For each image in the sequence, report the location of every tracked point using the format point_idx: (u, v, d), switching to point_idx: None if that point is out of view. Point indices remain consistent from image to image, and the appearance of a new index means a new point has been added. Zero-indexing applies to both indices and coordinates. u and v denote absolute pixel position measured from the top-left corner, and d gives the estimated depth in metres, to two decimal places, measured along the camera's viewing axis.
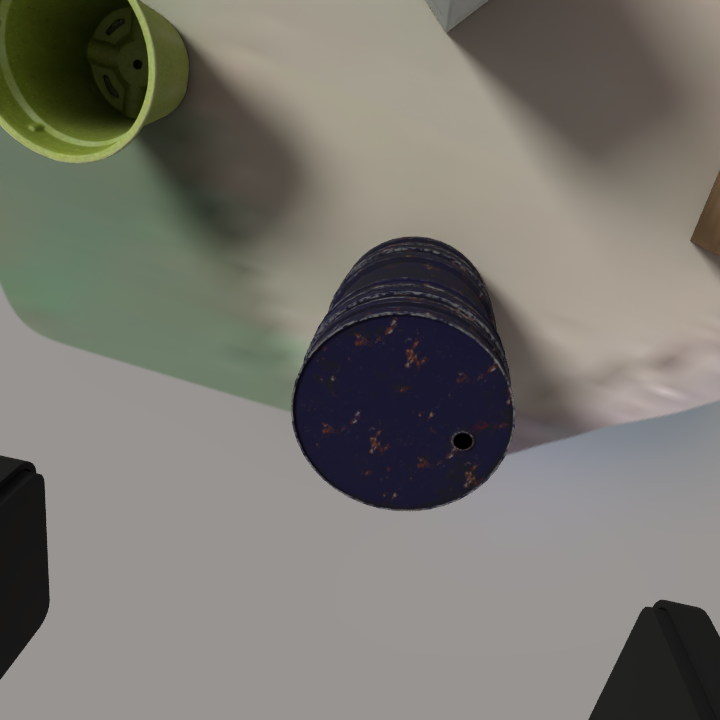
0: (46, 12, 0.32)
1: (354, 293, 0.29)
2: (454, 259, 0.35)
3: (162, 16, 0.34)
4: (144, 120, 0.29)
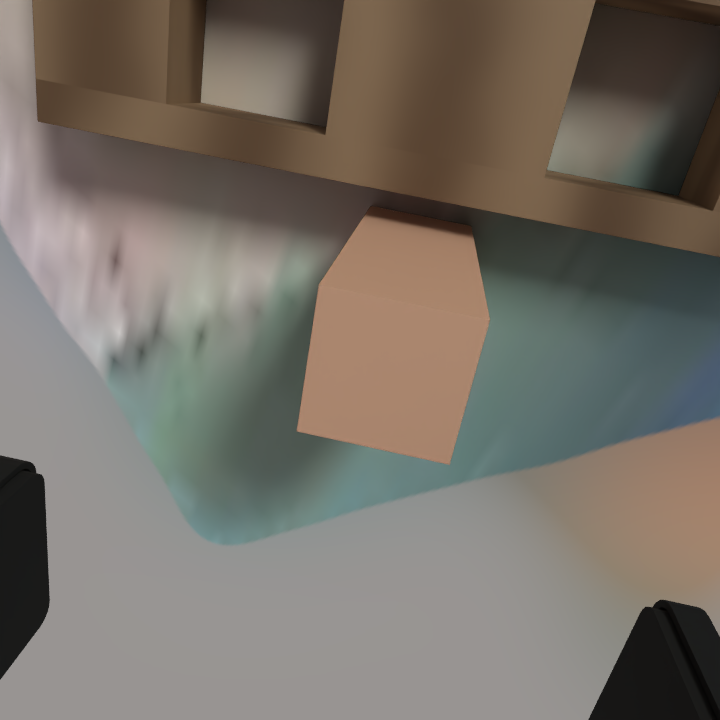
0: None
1: None
2: None
3: None
4: None
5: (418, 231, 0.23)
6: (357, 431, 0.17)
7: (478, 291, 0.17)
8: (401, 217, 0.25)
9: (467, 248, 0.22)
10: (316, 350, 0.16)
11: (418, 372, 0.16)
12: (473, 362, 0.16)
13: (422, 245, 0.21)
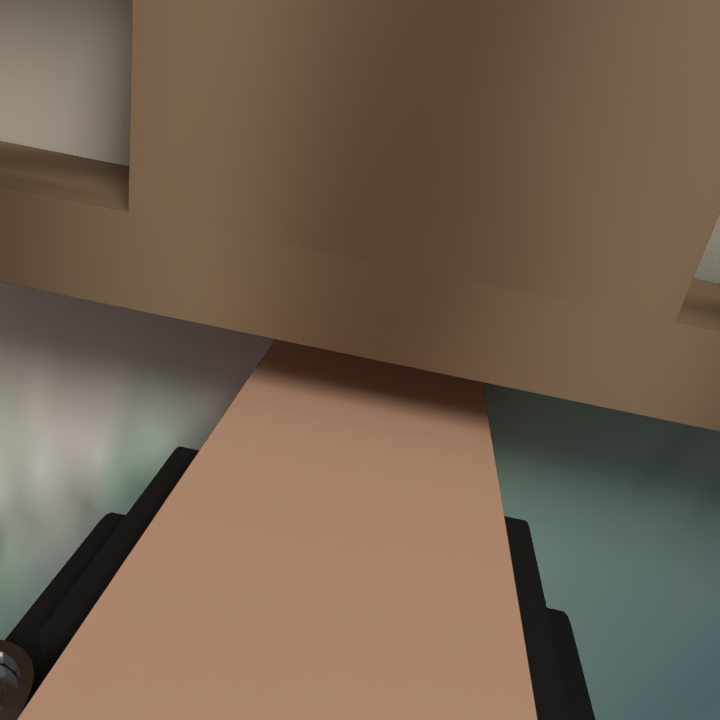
0: None
1: None
2: None
3: None
4: None
5: (364, 426, 0.10)
6: None
7: None
8: (336, 367, 0.12)
9: (479, 492, 0.09)
10: None
11: None
12: None
13: (364, 508, 0.08)
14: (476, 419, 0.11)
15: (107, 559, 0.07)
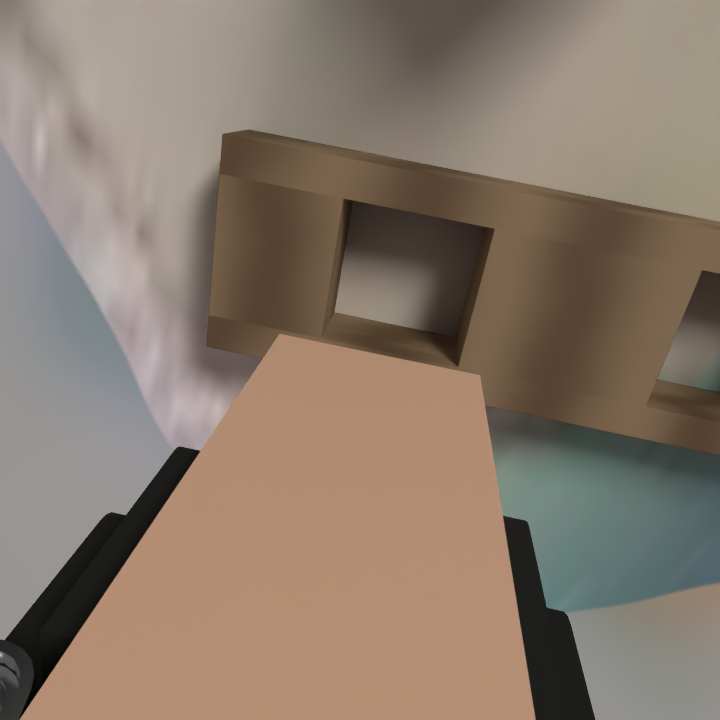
0: None
1: None
2: None
3: None
4: None
5: (364, 428, 0.10)
6: None
7: None
8: (335, 369, 0.12)
9: (479, 495, 0.09)
10: None
11: None
12: None
13: (363, 511, 0.08)
14: (475, 421, 0.11)
15: (107, 559, 0.07)
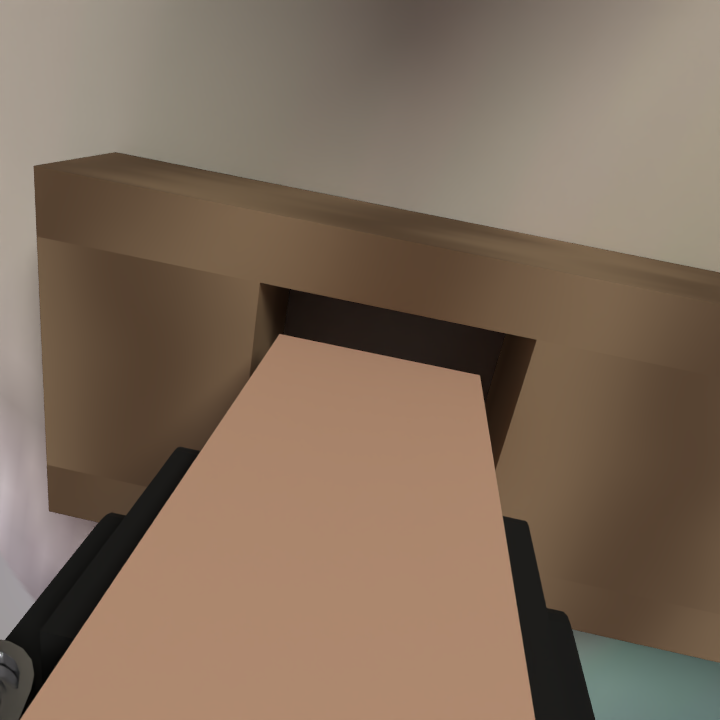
0: None
1: None
2: None
3: None
4: None
5: (364, 428, 0.10)
6: None
7: None
8: (335, 369, 0.12)
9: (478, 495, 0.09)
10: None
11: None
12: None
13: (363, 511, 0.08)
14: (475, 421, 0.11)
15: (107, 559, 0.07)
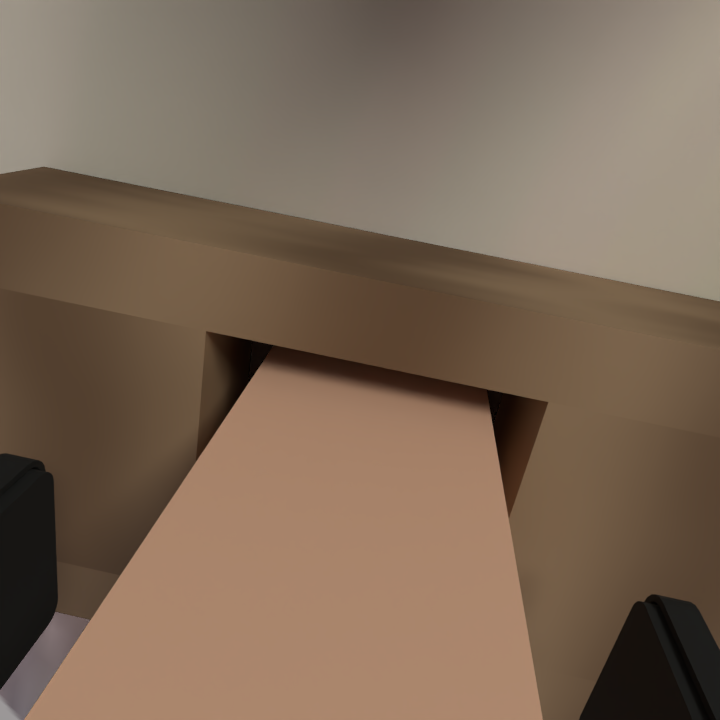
0: None
1: None
2: None
3: None
4: None
5: (373, 399, 0.11)
6: None
7: None
8: None
9: (479, 455, 0.10)
10: None
11: None
12: None
13: (374, 468, 0.09)
14: (476, 394, 0.12)
15: None
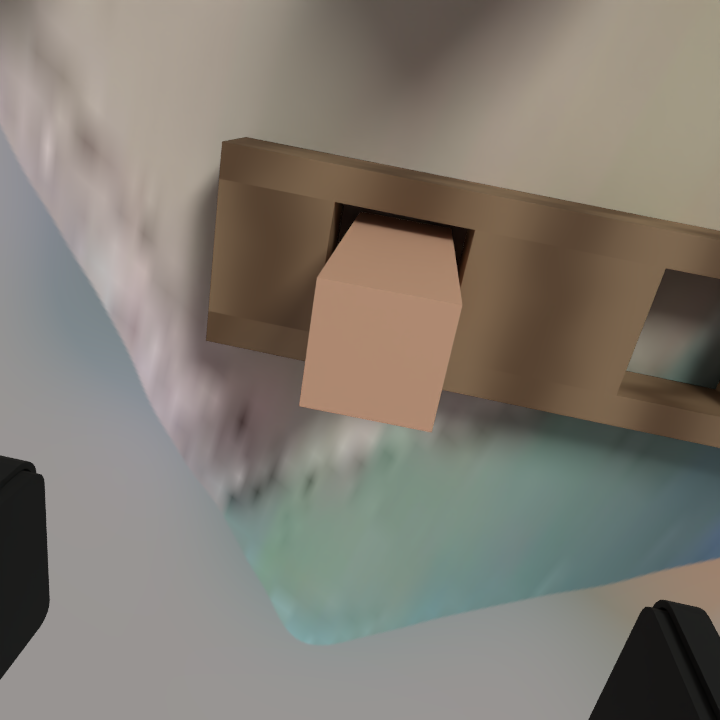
0: None
1: None
2: None
3: None
4: None
5: (403, 233, 0.26)
6: (351, 404, 0.20)
7: (454, 282, 0.20)
8: (388, 221, 0.28)
9: (446, 247, 0.25)
10: (315, 334, 0.19)
11: (403, 352, 0.19)
12: (449, 341, 0.19)
13: (406, 245, 0.24)
14: (447, 236, 0.27)
15: None
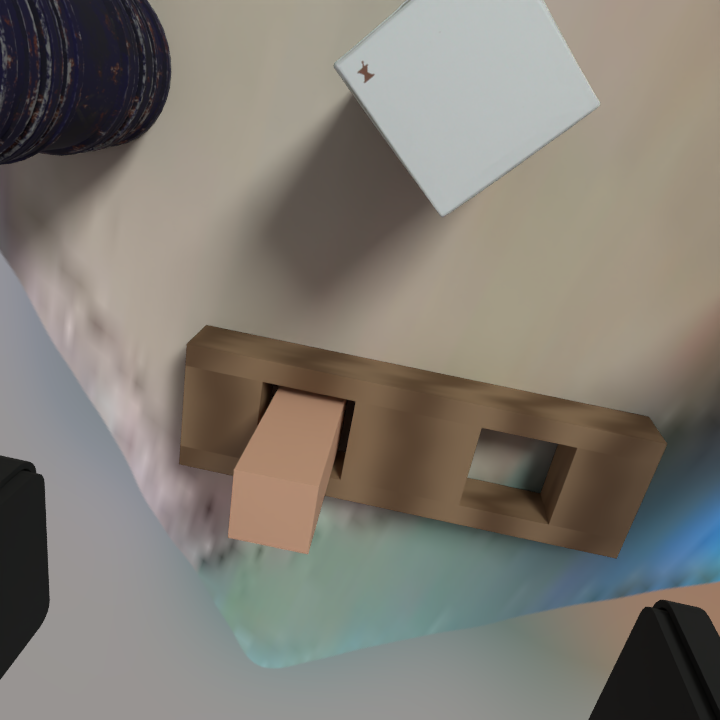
0: None
1: None
2: (140, 101, 0.33)
3: None
4: None
5: (309, 400, 0.39)
6: (259, 537, 0.33)
7: (323, 461, 0.33)
8: None
9: (335, 415, 0.38)
10: (235, 499, 0.32)
11: (287, 510, 0.32)
12: (313, 505, 0.31)
13: (306, 417, 0.37)
14: (341, 398, 0.40)
15: None
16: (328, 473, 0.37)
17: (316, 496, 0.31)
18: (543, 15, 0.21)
